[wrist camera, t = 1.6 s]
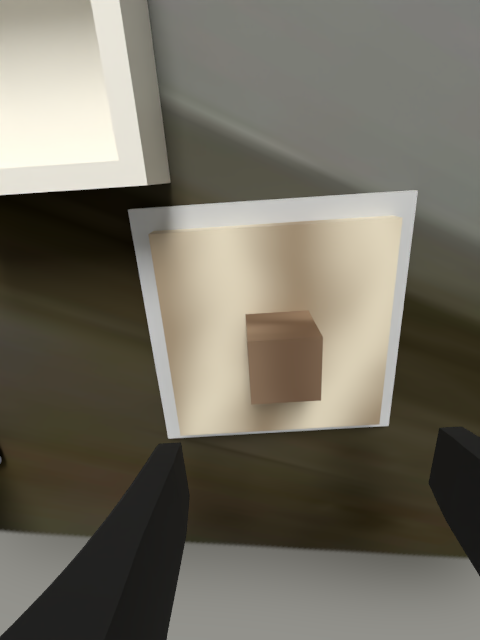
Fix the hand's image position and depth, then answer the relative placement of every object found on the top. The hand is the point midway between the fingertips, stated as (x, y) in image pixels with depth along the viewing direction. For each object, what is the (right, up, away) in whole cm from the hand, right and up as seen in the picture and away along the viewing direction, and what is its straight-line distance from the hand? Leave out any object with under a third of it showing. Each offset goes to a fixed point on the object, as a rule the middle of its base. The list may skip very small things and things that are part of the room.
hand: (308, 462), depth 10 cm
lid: (0, +3, +8) cm, 9 cm away
